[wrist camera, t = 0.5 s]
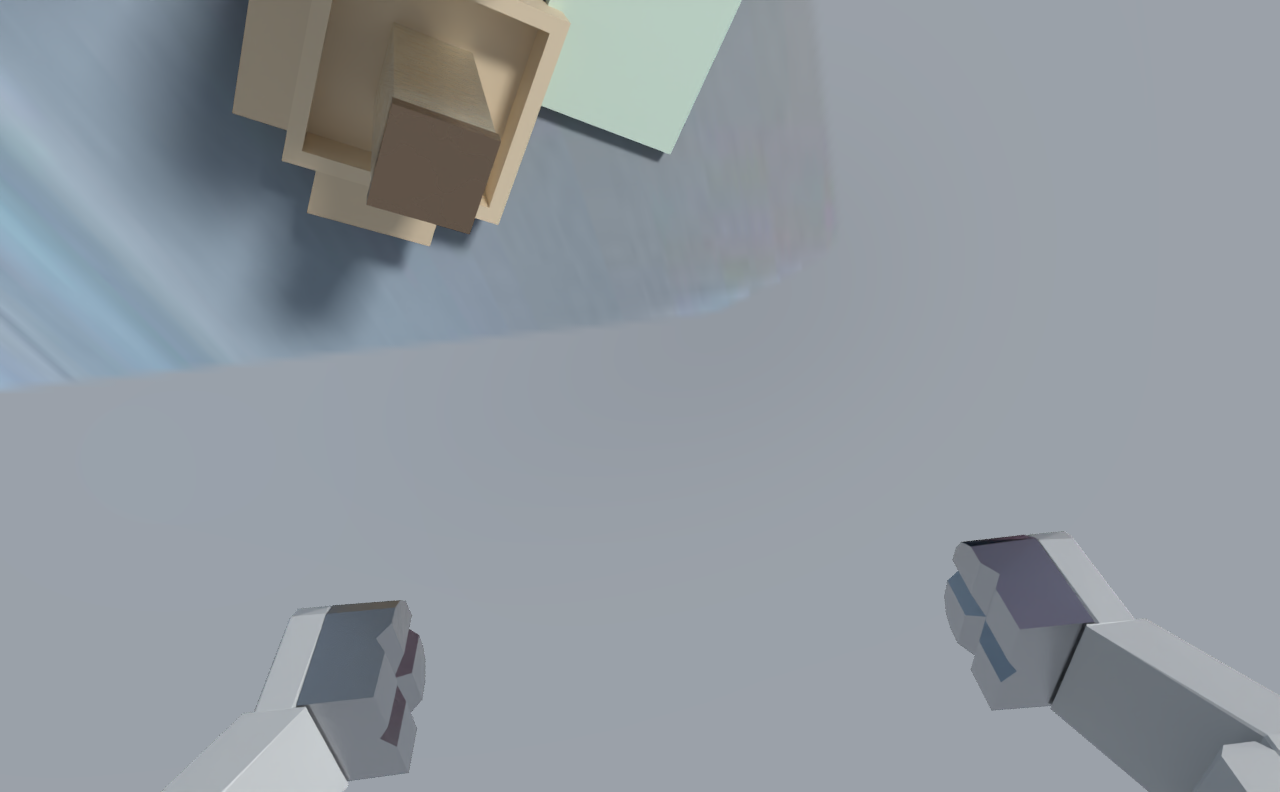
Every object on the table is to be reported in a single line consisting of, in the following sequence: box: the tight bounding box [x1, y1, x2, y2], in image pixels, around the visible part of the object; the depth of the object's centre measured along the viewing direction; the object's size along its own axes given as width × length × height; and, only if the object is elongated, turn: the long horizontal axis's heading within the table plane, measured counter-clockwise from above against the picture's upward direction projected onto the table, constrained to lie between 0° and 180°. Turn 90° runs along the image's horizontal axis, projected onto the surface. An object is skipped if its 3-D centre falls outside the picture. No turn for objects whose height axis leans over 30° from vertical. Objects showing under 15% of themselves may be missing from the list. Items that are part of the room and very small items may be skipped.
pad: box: [541, 0, 742, 154], centre depth 51 cm, size 12×12×1 cm
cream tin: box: [366, 22, 501, 234], centre depth 43 cm, size 5×5×16 cm
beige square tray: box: [232, 0, 571, 246], centre depth 48 cm, size 17×17×4 cm
